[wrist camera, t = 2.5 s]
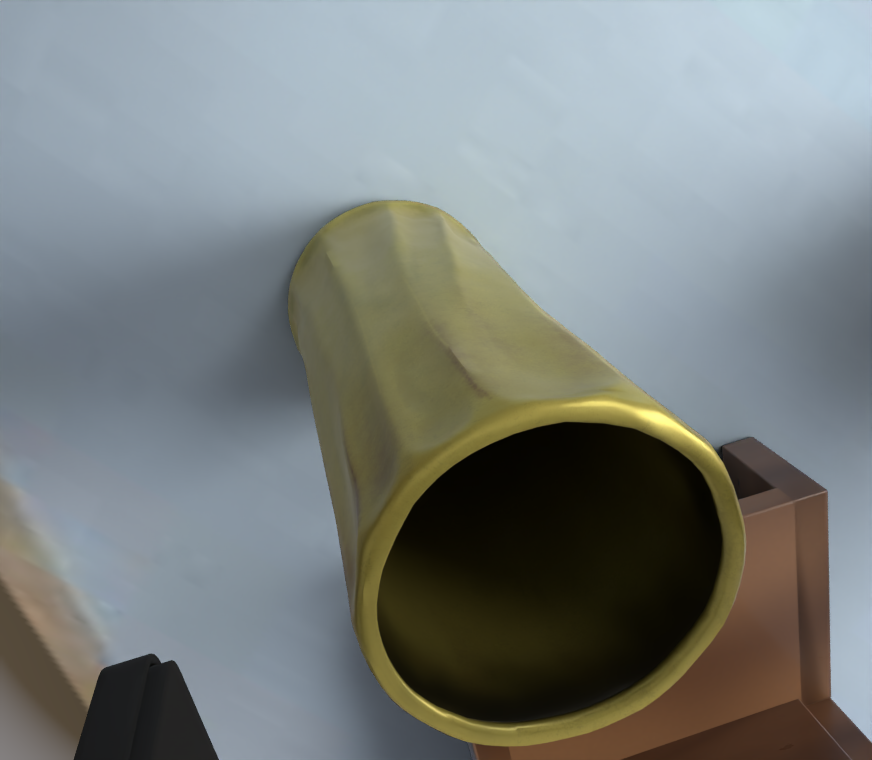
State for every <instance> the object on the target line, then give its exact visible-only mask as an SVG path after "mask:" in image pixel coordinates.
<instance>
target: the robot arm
mask: <svg viewBox="0 0 872 760" xmlns="http://www.w3.org/2000/svg"><path fill="white" fill-rule="evenodd" d="M74 760H219V759H218V757H217V754H216V752H215V750H214V748H213V745H212V743H211V741H210V738H209V736H208V734H207V731H206V729H205V727H204V725H203V722H202V720H201V718H200V715H199V713H198V711H197V708H196V706H195V704H194V702H193V699H192V697H191V695H190V692H189V690H188V688H187V685H186V683H185V681H184V678H183V676H182V674H181V672H180V669H179V667H178V666H177V664H176V663H175V662H174V661H172V660H171V661H168V662H164V663H161V662H160V660H159V659H158V657H157V656H156V655H155V654H148V655H145V656H141V657H138V658H135V659H132V660H128V661H125V662H122V663H119V664H115V665H112V666H109V667H106V668H104V669H103V670H102V671H101V673H100V675H99V677H98V680H97V684H96V687H95V690H94V694H93V697H92V700H91V704H90V707H89V710H88V714H87V717H86V721H85V724H84V727H83V731H82V734H81V737H80V741H79V744H78V747H77V750H76V754H75V757H74Z"/></svg>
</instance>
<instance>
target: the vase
mask: <svg viewBox="0 0 872 760" xmlns="http://www.w3.org/2000/svg"><path fill="white" fill-rule="evenodd" d="M288 315H289V323H290V327H291V331H292V334H293V337H294V340H295V343H296V346H297V349H298V351H299V352H300V354H301V355H302V357H303V361H304V365H305V369H306V374H307V380H308V386H309V392H310V398H311V404H312V409H313V414H314V419H315V424H316V428H317V433H318V438H319V443H320V448H321V452H322V457H323V462H324V467H325V472H326V477H327V481H328V486H329V490H330V495H331V500H332V504H333V509H334V514H335V519H336V524H337V530H338V536H339V542H340V548H341V554H342V560H343V567H344V574H345V580H346V586H347V593H348V599H349V606H350V613H351V621H352V625H353V629H354V632H355V634H356V637H357V640H358V643H359V646H360V649H361V652H362V654H363V656H364V658H365V660H366V662H367V664H368V666H369V668H370V670H371V672H372V673H373V675H374V676H375V678H376V680H377V681H378V683H379V684H380V686H381V687H382V689H383V690H384V691H385V692H386V693H387V695H388V696H389V697H390V698H391V700H392V701H394V702H395V703H396V704H397V705H398V706H399V707H400V708H401V709H403V710H404V711H406V712H407V713H409V714H410V715H412V716H413V717H415V718H416V719H418V720H420V721H422V722H423V723H425V724H427V725H428V726H430V727H432V728H434V729H436V730H438V731H440V732H442V733H444V734H446V735H448V736H451V737H454V738H457V739H459V740H462V741H465V742H470V743H476V744H482V745H491V746H529V745H535V744H542V743H548V742H552V741H557V740H561V739H566V738H570V737H574V736H578V735H582V734H586V733H589V732H592V731H595V730H597V729H600V728H603V727H605V726H608V725H610V724H612V723H614V722H617V721H619V720H621V719H623V718H625V717H627V716H629V715H631V714H633V713H635V712H637V711H639V710H641V709H643V708H644V707H646V706H647V705H649V704H650V703H651V702H653V701H654V700H656V699H657V698H658V697H660V696H661V695H662V694H663V693H664V692H666V691H667V690H668V689H669V688H670V687H671V686H673V685H674V684H675V683H676V682H677V681H678V680H679V679H680V678H681V677H682V676H683V675H684V674H685V672H686V671H687V670H688V669H689V668H690V667H691V666H692V664H693V663H694V662H695V661H696V660H697V659H698V657H699V656H700V655H701V654H702V653H703V652H704V650H705V649H706V648H707V647H708V646H709V644H710V643H711V642H712V641H713V639H714V638H715V636H716V635H717V633H718V632H719V631H720V629H721V628H722V626H723V625H724V623H725V621H726V619H727V617H728V615H729V612H730V610H731V608H732V606H733V604H734V601H735V598H736V595H737V592H738V589H739V586H740V582H741V578H742V573H743V568H744V564H745V552H746V534H745V524H744V520H743V516H742V512H741V509H740V505H739V502H738V499H737V496H736V492H735V489H734V486H733V483H732V481H731V479H730V477H729V474H728V472H727V470H726V468H725V465H724V463H723V462H722V460H721V459H720V457H719V456H718V454H717V453H716V451H715V450H714V448H713V447H712V445H711V444H710V443H709V442H708V441H707V440H706V439H705V438H704V437H702V436H701V435H700V434H699V433H697V432H696V431H695V430H693V429H692V428H691V427H689V426H688V425H687V424H686V423H685V422H683V421H682V420H681V419H680V418H678V417H677V416H676V415H675V414H673V413H672V412H671V411H669V410H668V409H667V408H666V407H664V406H663V405H662V404H660V403H659V402H658V401H656V400H655V399H654V398H652V397H651V396H650V395H648V394H647V393H646V392H644V391H643V390H642V389H641V388H639V387H638V386H637V385H635V384H634V383H633V382H632V381H631V380H629V379H628V378H627V377H626V376H624V375H623V374H622V373H621V372H620V371H618V370H617V369H616V368H615V367H614V366H612V365H611V364H610V363H609V362H608V361H607V360H605V359H604V358H603V357H602V356H601V355H600V354H598V353H597V352H596V351H595V350H594V349H592V348H591V347H590V346H589V345H587V344H586V343H585V342H583V341H582V340H581V339H579V338H578V337H577V336H575V335H574V334H573V333H571V332H570V331H569V330H567V329H566V328H565V327H564V326H563V325H561V324H560V323H559V322H558V321H556V320H555V319H554V318H552V317H551V316H550V315H549V314H547V313H546V312H545V311H544V310H542V309H541V308H540V307H539V306H538V305H537V304H536V303H535V302H534V301H533V300H532V299H531V298H530V297H529V296H528V295H527V294H526V293H525V292H524V291H523V290H522V289H521V288H520V287H519V286H518V285H517V284H516V283H515V282H514V280H513V279H512V278H511V277H510V276H509V275H508V274H507V273H506V272H505V271H504V270H503V269H502V268H501V266H500V265H499V264H498V263H497V262H496V261H495V260H494V258H493V257H492V256H491V255H490V254H489V253H488V252H487V251H486V250H485V249H484V248H483V247H482V246H481V245H480V243H479V242H478V241H477V239H476V238H475V237H474V236H473V235H472V234H471V233H470V232H469V231H468V230H467V229H466V228H465V227H464V226H463V225H462V224H461V223H459V222H458V221H457V220H456V219H454V218H453V217H452V216H450V215H449V214H447V213H446V212H444V211H442V210H440V209H439V208H436V207H433V206H430V205H427V204H423V203H419V202H412V201H397V200H391V201H376V202H371V203H367V204H364V205H361V206H358V207H356V208H353V209H351V210H349V211H347V212H345V213H343V214H341V215H339V216H338V217H336V218H335V219H333V220H332V221H330V222H329V223H327V224H326V225H325V226H324V227H322V228H321V229H320V230H319V231H318V232H317V233H316V234H315V236H314V237H313V238H312V239H311V241H310V242H309V243H308V245H307V246H306V248H305V249H304V251H303V253H302V254H301V256H300V258H299V260H298V262H297V264H296V266H295V269H294V272H293V274H292V278H291V282H290V287H289V294H288Z"/></svg>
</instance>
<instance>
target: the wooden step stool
mask: <svg viewBox="0 0 872 760" xmlns="http://www.w3.org/2000/svg"><path fill="white" fill-rule="evenodd" d="M722 453H723V463H724V465H725V468H726V470H727V472H728V474H729V477H730V479H731V481H732V483H733V486H734V489H735V492H736V496H737V499H738V502H739V505H740V509H741V512H742V516H743V520H744V524H745V534H746V552H745V564H744V568H743V573H742V578H741V582H740V586H739V589H738V592H737V595H736V598H735V601H734V604H733V606H732V608H731V610H730V612H729V615H728V617H727V619H726V621H725V623H724V625H723V626H722V628H721V629H720V631H719V632H718V633H717V635H716V636H715V638H714V639H713V641H712V642H711V643H710V644H709V646H708V647H707V648H706V649H705V650H704V652H703V653H702V654H701V655H700V656H699V657H698V659H697V660H696V661H695V662H694V663H693V664H692V666H691V667H690V668H689V669H688V670H687V671H686V672H685V674H684V675H683V676H682V677H681V678H680V679H679V680H678V681H677V682H676V683H675V684H674V685H673V686H671V687H670V688H669V689H668V690H667V691H666V692H664V693H663V694H662V695H661V696H660V697H658V698H657V699H656V700H654V701H653V702H651V703H650V704H649V705H647V706H646V707H644V708H643V709H641V710H639V711H637V712H635V713H633V714H631V715H629V716H627V717H625V718H623V719H621V720H619V721H617V722H614V723H612V724H610V725H608V726H605V727H603V728H600V729H597V730H595V731H592V732H589V733H586V734H582V735H578V736H574V737H570V738H566V739H561V740H557V741H552V742H548V743H542V744H535V745H529V746H491V745H482V744H476V743H470V742H468V745H469V749H470V753H471V757H472V760H872V742H871V741H870V740H869V739H868V738H867V737H866V736H865V735H864V734H863V733H862V732H861V731H860V729H859V728H858V727H857V726H856V725H855V724H854V723H853V722H852V721H851V720H850V719H849V718H848V716H847V715H846V714H845V713H844V712H843V711H842V710H841V709H840V708H839V707H838V706H837V705H836V703H835V702H834V701H833V700H832V699H831V698H830V697H831V669H830V609H829V548H828V491H827V490H826V489H825V488H823V487H822V486H821V485H819V484H818V483H816V482H815V481H814V480H812V479H811V478H809V477H808V476H807V475H805V474H804V473H803V472H801V471H800V470H798V469H797V468H796V467H794V466H793V465H791V464H790V463H789V462H787V461H786V460H784V459H783V458H782V457H780V456H779V455H777V454H776V453H775V452H773V451H772V450H770V449H769V448H768V447H766V446H765V445H763V444H762V443H761V442H759V441H758V440H756V439H755V438H754V437H750V438H746V439H743V440H740V441H736V442H733V443H730V444H726V445H723V446H722Z"/></svg>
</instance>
